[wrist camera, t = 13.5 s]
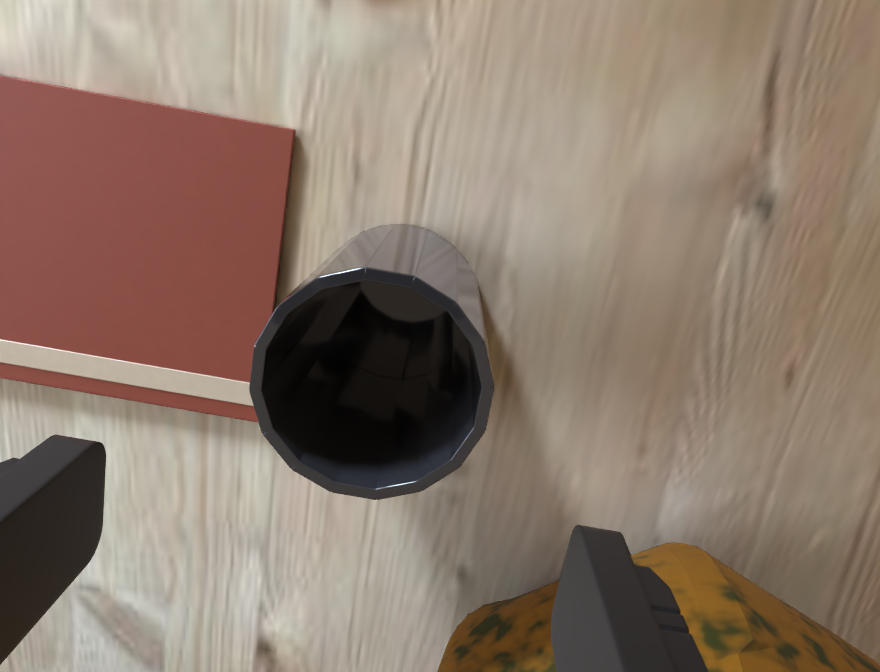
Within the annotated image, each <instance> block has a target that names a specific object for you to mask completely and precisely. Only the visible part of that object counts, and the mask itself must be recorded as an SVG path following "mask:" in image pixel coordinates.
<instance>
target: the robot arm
mask: <svg viewBox="0 0 880 672" xmlns="http://www.w3.org/2000/svg"><path fill="white" fill-rule="evenodd" d="M105 467H106V452H105V448H104V445H103V444H102V443H100V442H96V441H90V440H84V439H78V438H72V437H66V436H60V435H53V436H51V437H49V438H48V439H46V440H45V441H44V442H42V443H41V444H40V445H38V446H37V447H36V448H34V449H33V450H32V451H30V452H29V453H27V454H26V455H25V456H23V457H22V458H21V459H17V458H12V459H9V460H6V461H4V462H1V463H0V665H1V663H2V662H3V661H4V660H5V659H6V658H7V656H8V655H9V654H10V653H11V652H12V651H13V650H14V648H15V647H16V646H17V645H18V644H19V643H20V642H21V640H22V639H23V638H24V637H25V636H26V635H27V633H28V632H29V631H30V630H31V629H32V628H33V627H34V625H35V624H36V623H37V622H38V621H39V620H40V618H41V617H42V616H43V615H44V614H45V613H46V612H47V610H48V609H49V608H50V607H51V606H52V605H53V604H54V602H55V601H56V600H57V599H58V598H59V597H60V595H61V594H62V593H63V592H64V591H65V590H66V589H67V587H68V586H69V585H70V584H71V583H72V582H73V581H74V579H75V578H76V577H77V576H78V575H79V574H80V572H81V571H82V570H83V569H84V568H85V567H86V566H87V564H88V563H89V562H90V560H91V559H92V557H93V555H94V553H95V551H96V549H97V546H98V543H99V540H100V537H101V533H102V526H103V508H104V488H105ZM680 612H681V610H680V608H679V606H678V604H677V602H676V599H675V597H674V595H673V593H672V591H671V588H670V587H669V586H668V585H667V584H666V583H665V582H664V581H663V580H662V579H661V578H660V577H659V576H658V575H657V574H656V573H655V572H654V571H653V570H652V569H651V568H650V567H646V566H640V565H635V564H634V562H633V559H632V557H631V554H630V552H629V549H628V547H627V545H626V542H625V540H624V537H623V535H622V534H621V533H620V532H616V531H611V530H605V529H599V528H593V527H587V526H581V525H577V526H575V528H574V530H573V532H572V535H571V538H570V542H569V545H568V549H567V553H566V557H565V561H564V565H563V569H562V573H561V577H560V581H559V585H558V589H557V593H556V597H555V601H554V605H553V611H552V620H551V641H552V648H553V653H554V659H555V665H556V670H557V672H709V671H708V669H707V667H706V665H705V663H704V660H703V658H702V656H701V654H700V652H699V650H698V647H697V645H696V643H695V641H694V639H693V636H692V634H689V628H688V626H687V623H686V621H685V619H684V617H683V615H680Z"/></svg>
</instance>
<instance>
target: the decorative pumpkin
mask: <svg viewBox="0 0 880 672" xmlns="http://www.w3.org/2000/svg"><path fill="white" fill-rule="evenodd" d="M631 557H632V559H633V562H634V564H635V565H640V566H646V567H650V568H651V569H652V570H653V571H654V572H655V573H656V574H657V575H658V576H659V577H660V578H661V579H662V580H663V581H664V582H665V583H666V584H667V585H668V586H669V587H670V588H671V591H672V593H673V595H674V597H675V599H676V602H677V604H678V606H679V608H680V610H681V612H680V615H683V617H684V619H685V621H686V623H687V626H688V628H689V634H692V636H693V639H694V641H695V643H696V645H697V647H698V650H699V652H700V654H701V656H702V658H703V660H704V663H705V665H706V667H707V669H708V671H709V672H880V665H879V664H877V663H876V662H875V661H874V660H873V659H871V658H870V657H868V656H867V655H865V654H864V653H862V652H861V651H859V650H858V649H856V648H855V647H853V646H851V645H850V644H848V643H847V642H846V641H844V640H843V639H841V638H840V637H838V636H837V635H835V634H834V633H832V632H831V631H829V630H828V629H826V628H825V627H823V626H821V625H820V624H818V623H817V622H815V621H813V620H812V619H810V618H809V617H807V616H805V615H804V614H802V613H801V612H799V611H797V610H796V609H794V608H793V607H791V606H789V605H788V604H786V603H784V602H783V601H781V600H780V599H778V598H776V597H775V596H773V595H772V594H770V593H768V592H767V591H765V590H763V589H762V588H760V587H759V586H757V585H755V584H754V583H752V582H751V581H749V580H748V579H746V578H745V577H743V576H742V575H740V574H738V573H737V572H735V571H734V570H732V569H731V568H729V567H728V566H726V565H724V564H723V563H721V562H720V561H718V560H717V559H715V558H714V557H712V556H711V555H709V554H708V553H706V552H705V551H703V550H702V549H700V548H698V547H697V546H691V545H686V544H681V543H666V544H663V545H660V546H657V547H654V548H651V549H648V550H645V551H642V552H639V553H637V554H634V555H631ZM559 581H560V580H558V581H556V582H554V583H551V584H549V585H546V586H544V587H542V588H539V589H537V590H534V591H532V592H529V593H527V594H524V595H521V596H518V597H516V598H513V599H510V600H505V601H499V602H495V603H491V604H487V605H483V606H482V607H480V608H479V609H477V610H475V611H474V612H472V613H470V614H468V615H467V616H466V617H465V619H464V620H463V621H462V622H461V623H460V624H459V625H458V626H457V628H456V630H455V631H454V633H453V635H452V636H451V638H450V640H449V642H448V644H447V647H446V649H445V652H444V655H443V658H442V660H441V663H440V666H439V669H438V671H437V672H557V670H556V665H555V659H554V653H553V648H552V641H551V620H552V611H553V605H554V601H555V597H556V593H557V589H558V585H559Z"/></svg>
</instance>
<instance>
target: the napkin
mask: <svg viewBox="0 0 880 672" xmlns="http://www.w3.org/2000/svg"><path fill="white" fill-rule="evenodd" d="M295 131H296V130H295V129H290V128H284V127H279V126H273V125H268V124H262V123H257V122H252V121H246V120H241V119H235V118H230V117H224V116H219V115H213V114H208V113H202V112H197V111H192V110H186V109H181V108H175V107H170V106H164V105H159V104H153V103H148V102H142V101H137V100H132V99H126V98H121V97H115V96H110V95H104V94H99V93H93V92H88V91H82V90H77V89H72V88H66V87H61V86H55V85H50V84H44V83H39V82H33V81H28V80H22V79H17V78H12V77H6V76H1V75H0V378H5V379H10V380H16V381H22V382H28V383H33V384H39V385H45V386H51V387H57V388H62V389H68V390H74V391H80V392H86V393H91V394H97V395H103V396H109V397H115V398H120V399H126V400H132V401H138V402H144V403H149V404H155V405H161V406H167V407H173V408H178V409H184V410H190V411H196V412H202V413H207V414H213V415H219V416H225V417H230V418H236V419H242V420H248V421H254V422H259V421H258V418H257V415H256V412H255V408H254V405H253V402H252V399H251V395H250V392H249V384H250V375H251V366H252V357H253V348H254V345H255V342H256V340H257V339H258V337H259V335H260V334H261V332H262V330H263V329H264V327H265V325H266V324H267V322H268V320H269V318H270V317H271V315H272V313H273V312H274V309H275V301H276V292H277V284H278V275H279V267H280V258H281V250H282V241H283V233H284V224H285V216H286V207H287V199H288V190H289V182H290V173H291V165H292V156H293V148H294V140H295Z"/></svg>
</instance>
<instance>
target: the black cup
mask: <svg viewBox="0 0 880 672" xmlns="http://www.w3.org/2000/svg"><path fill="white" fill-rule="evenodd" d="M249 392H250V395H251V399H252V402H253V405H254V408H255V412H256V415H257V418H258V421H259V425H260V428H261V431H262V433H263V435H264V436H265V438H266V439H267V440H268V441H269V443H270V444H271V445H272V446H273V447H274V449H275V450H276V451H277V452H278V454H279V455H280V456H281V457H282V458H283V460H284V461H285V462H286V463H287V465H288V466H289V467H290V468H291V469H292V470H293V471H295V472H297V473H299V474H300V475H302V476H304V477H306V478H307V479H309V480H311V481H313V482H314V483H316V484H318V485H319V486H321V487H323V488H325V489H326V490H328V491H330V492H331V491H332V492H333V493H338V494H344V495H350V496H356V497H362V498H368V499H374V500H376V499H377V500H379V499H385V498H390V497H395V496H400V495H406V494H411V493H416V492H420V491H423V490H425V489H426V488H428V487H429V486H431V485H432V484H434V483H436V482H437V481H439V480H440V479H442V478H444V477H445V476H447V475H448V474H450V473H452V472H453V471H455V470H456V469H458V468H459V467H460V466H461V465H462V464H463V462H464V461H465V459H466V458H467V456H468V455H469V454H470V452H471V451H472V449H473V448H474V447H475V445H476V444H477V442H478V441H479V440H480V438H481V437H482V435H483V434H484V433H485V430H486V426H487V422H488V417H489V412H490V407H491V403H492V398H493V393H494V379H493V373H492V366H491V360H490V353H489V347H488V340H487V334H486V327H485V320H484V314H483V307H482V302H481V298H480V293H479V288H478V283H477V279H476V276H475V274H474V272H473V271H472V268H471V267H470V265H469V263H468V262H467V260H466V259H465V257H464V256H463V255H462V254H461V252H460V251H459V250H458V249H457V248H456V247H455V246H454V245H453V244H451V243H450V242H449V241H447V240H446V239H445V238H443V237H442V236H440V235H438V234H436V233H434V232H432V231H430V230H427V229H424V228H421V227H417V226H413V225H405V224H391V225H384V226H379V227H375V228H372V229H369V230H367V231H363V232H361V233H360V234H358V235H357V236H355V237H354V238H352V239H351V240H349V241H348V242H347V243H346V244H344V245H343V246H341V247H340V248H339V249H337V250H336V251H335V252H334V253H333V254H332V255H331V256H330V257H329V258H327V259H326V260H325V261H324V262H323V263H322V264H321V265H320V266H319V267H318V268H317V269H316V270H315V271H314V272H312V273H311V274H310V275H309V276H308V277H307V278H306V279H305V280H304V281H303V282H302V283H301V284H300V285H299V286H298V287H296V288H295V289H294V290H293V291H292V292H291V293H290V294H289V295H288V296H287V297H286V298H285V299H284V300H283V301H281V302H280V303H279V305H278V306H277V307H276V308H275V310H274V312H273V313H272V315H271V317H270V318H269V320H268V322H267V324H266V325H265V327H264V329H263V330H262V332H261V334H260V335H259V337H258V339H257V340H256V342H255V345H254V348H253V357H252V366H251V375H250V384H249Z"/></svg>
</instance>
